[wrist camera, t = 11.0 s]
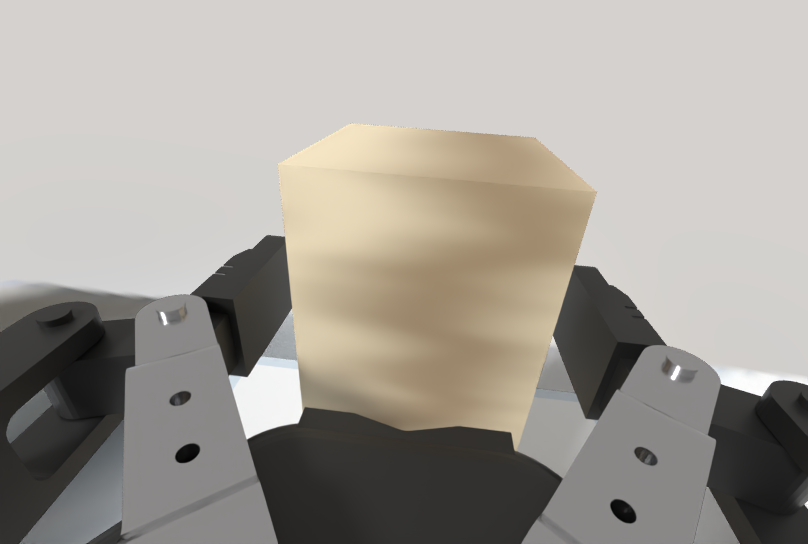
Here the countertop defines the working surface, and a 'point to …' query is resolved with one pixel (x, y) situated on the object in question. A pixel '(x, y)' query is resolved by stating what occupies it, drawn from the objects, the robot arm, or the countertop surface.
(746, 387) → the countertop surface
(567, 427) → the white chamfered block
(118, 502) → the countertop surface
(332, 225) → the maple block
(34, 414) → the countertop surface
